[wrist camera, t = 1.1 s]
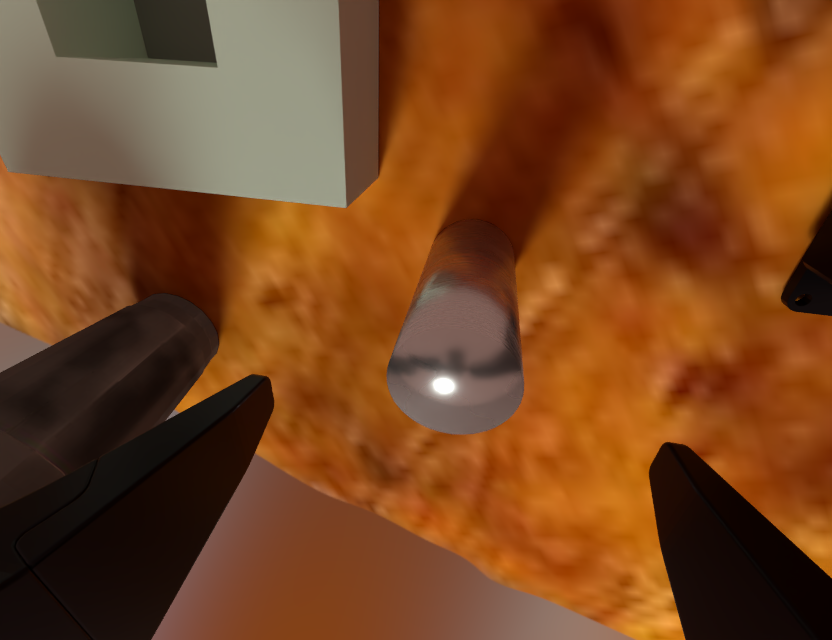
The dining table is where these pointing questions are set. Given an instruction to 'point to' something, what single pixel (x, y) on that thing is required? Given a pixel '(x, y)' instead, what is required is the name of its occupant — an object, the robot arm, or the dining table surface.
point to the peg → (461, 335)
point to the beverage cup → (98, 390)
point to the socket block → (194, 95)
